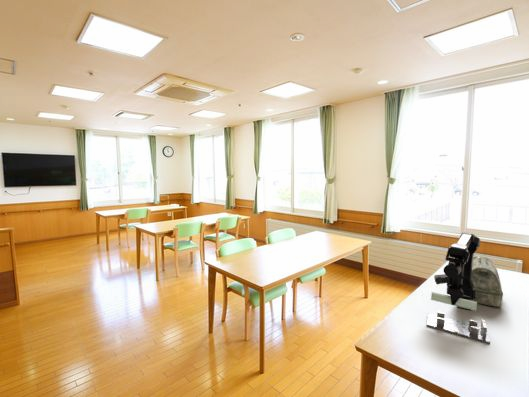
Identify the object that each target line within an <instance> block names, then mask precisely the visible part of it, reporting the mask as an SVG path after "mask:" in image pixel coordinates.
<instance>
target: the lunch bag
mask: <svg viewBox="0 0 529 397" xmlns="http://www.w3.org/2000/svg"><path fill="white" fill-rule="evenodd" d="M471 281H472V283H473V284H474V288H473V289H475V292H476V299H473V300H472V299H471V301H475V302H477V304H479V305H480V304H481V305H485V306H490V307H494V308H501V307H502V306H503V305H502V304H503V303H502V302H503V298H504V292H503V289H502V283H501V279H500V275H499V272H498V269H497V266H496V265H495V264H494V262H493V261H492V260H491V259H490V258H489V257H486V256H479V255H477V256H473V264H472V273H471Z"/></svg>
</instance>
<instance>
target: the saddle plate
mask: <svg viewBox="0 0 529 397" xmlns="http://www.w3.org/2000/svg"><path fill="white" fill-rule="evenodd" d="M445 315H446V312H443V311H437V314H432V313H429V312H428V313H427V320H426V327H427V326H428V327H427V328H432V329H434V328H435V330H438V331H442V332H444V333H445V332H446V333H450V334H452V335H456V336H460V337H463V338H467V339H471V340H473V341H477V342H479V343H484V344H488V345H490V344H491V340H490V337H489V332H488V328H487V323H486V320H485V319H481V322H480V326H478V321H477V320H474V319H470V318H469V322H468V323H467V322H463V321H459V320H456V319H451V318H448V317H445Z"/></svg>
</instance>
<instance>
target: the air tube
mask: <svg viewBox="0 0 529 397" xmlns="http://www.w3.org/2000/svg"><path fill="white" fill-rule="evenodd" d="M430 301H434V302H439V303H442V304H446V305H447V304H448V305H449V306H455V307H457V306H458V307H457V308H459V307H463V308H467V309H471V310H470V311H477V307H478V303H477V302H475V301H470V300H466V299H462V298H459V300H458V301H457V302H456V304H455V305H452V304H451V297H450V295H449V294H444V293H440V292H439V293H438V292H435V291H431V295H430ZM463 308H462V309H463ZM467 309H466V310H467Z"/></svg>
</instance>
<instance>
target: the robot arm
mask: <svg viewBox="0 0 529 397" xmlns="http://www.w3.org/2000/svg"><path fill="white" fill-rule="evenodd" d="M480 246H481V239H480V238H479V237H478V236H477V235H475V234H474V233H471V232H461V234H460V236H459V239H458V241H457V243H452V244H451V245H450V246H449V247H448V248H447V251H446V255H445V259H444V260H445V261H447V262H448V263H447V265H445V266H444V267H443V274H434V277H433V279H434V282H435V284H436V285H441V284H442V285H443V284H446V295H448V296H450V297H451V304H452V305H451V306H454V305H455V304H456V302H457V301H458V300H459V298H462V299H466V300H470V301H471V299H472V300H473V299H476V292H475V289H473V288H474V284H473V283H472V281H471V273H472V264H473V258H474V257H475V256H474V255H475V253H476V252H477V251H478V249H479V248H480ZM456 307H457V308H460V309H464V310H467V311H472V310H471V309H467V308H463V307H458V306H456Z"/></svg>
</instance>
